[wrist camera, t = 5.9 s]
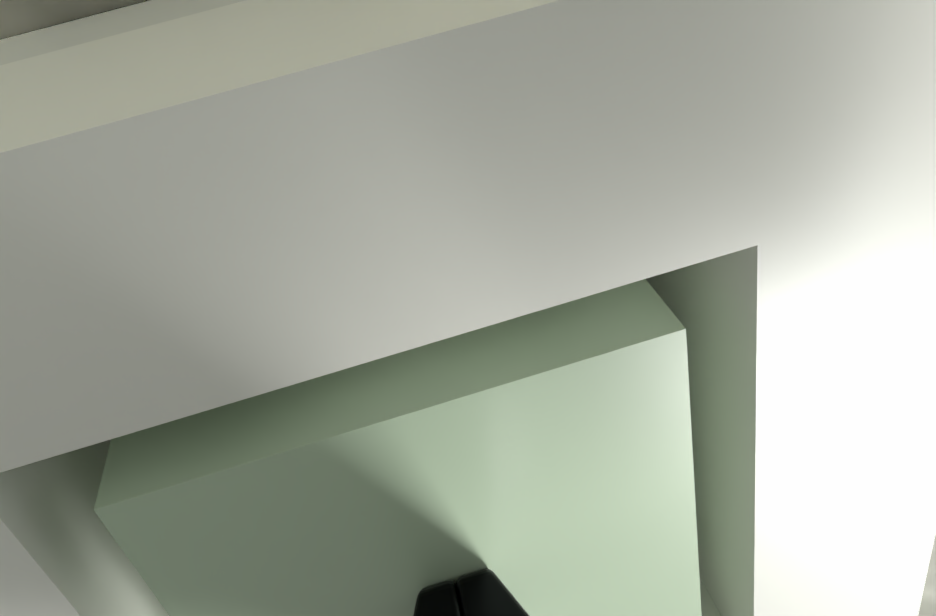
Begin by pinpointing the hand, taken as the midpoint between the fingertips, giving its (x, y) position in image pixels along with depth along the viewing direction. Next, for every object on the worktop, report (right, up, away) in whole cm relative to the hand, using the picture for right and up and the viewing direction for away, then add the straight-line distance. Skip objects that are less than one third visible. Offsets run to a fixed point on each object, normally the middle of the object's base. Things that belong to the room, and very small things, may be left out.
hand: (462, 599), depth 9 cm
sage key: (-1, +1, +2) cm, 3 cm away
